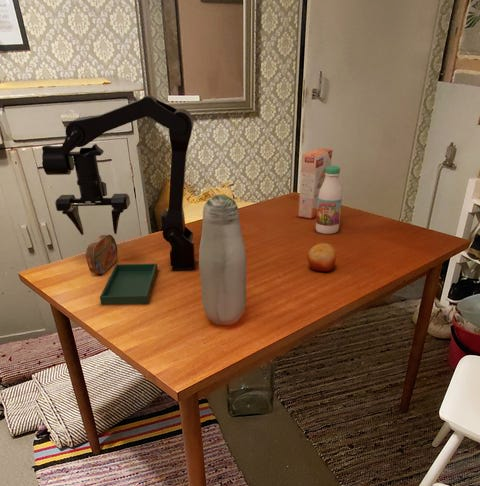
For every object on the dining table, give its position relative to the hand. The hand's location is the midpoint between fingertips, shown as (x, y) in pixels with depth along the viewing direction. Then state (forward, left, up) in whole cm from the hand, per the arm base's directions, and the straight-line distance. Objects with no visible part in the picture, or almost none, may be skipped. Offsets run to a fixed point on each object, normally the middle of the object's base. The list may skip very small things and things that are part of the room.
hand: (99, 234), depth 136 cm
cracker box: (-67, -49, -10) cm, 83 cm away
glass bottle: (-35, +34, -10) cm, 50 cm away
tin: (0, 0, -10) cm, 10 cm away
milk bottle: (-69, -29, -10) cm, 75 cm away
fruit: (-62, +4, -10) cm, 63 cm away
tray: (-10, +13, -10) cm, 19 cm away
